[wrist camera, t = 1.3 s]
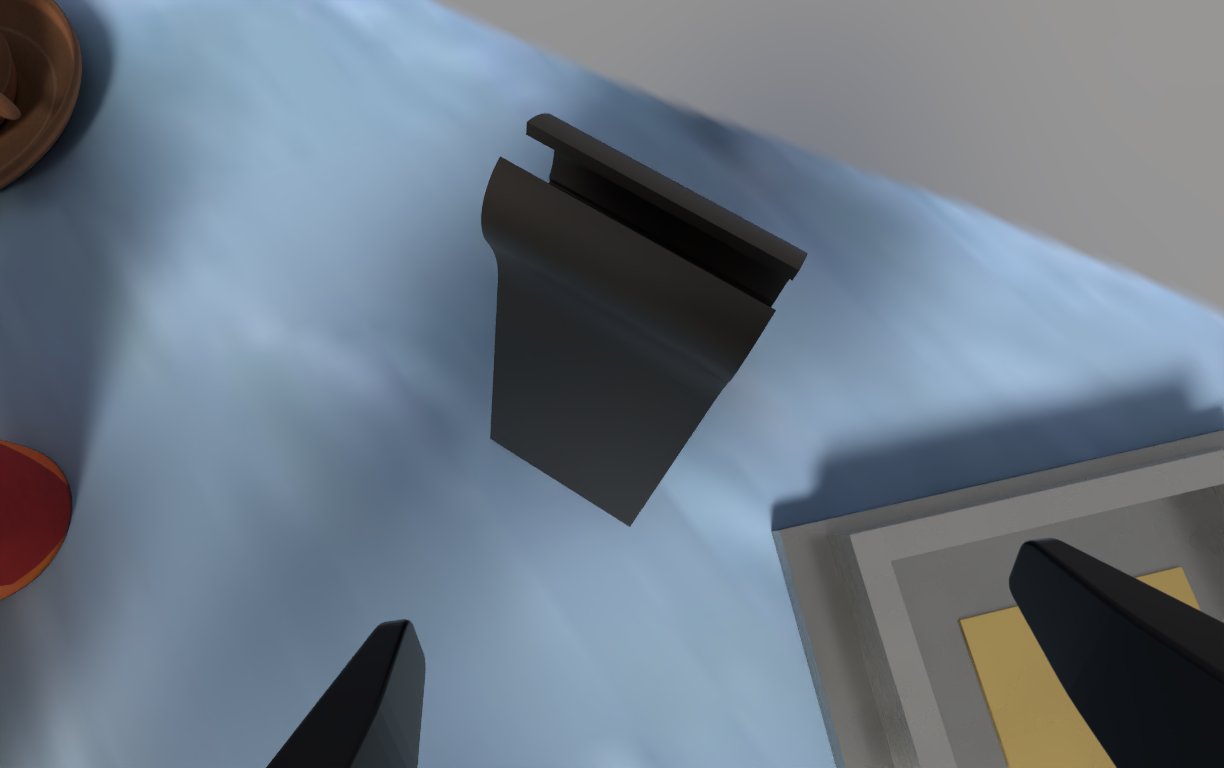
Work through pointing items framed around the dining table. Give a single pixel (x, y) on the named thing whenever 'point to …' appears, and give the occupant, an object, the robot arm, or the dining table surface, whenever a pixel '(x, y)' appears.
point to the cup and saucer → (34, 82)
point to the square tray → (987, 604)
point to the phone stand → (617, 313)
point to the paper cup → (29, 515)
